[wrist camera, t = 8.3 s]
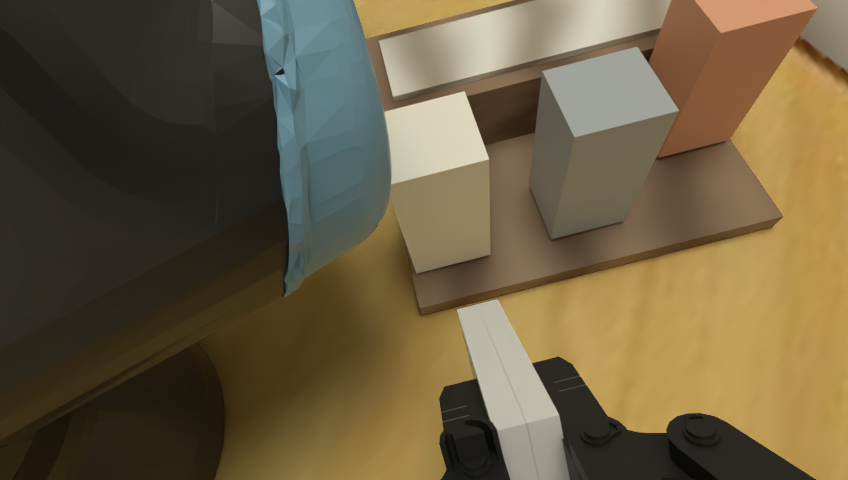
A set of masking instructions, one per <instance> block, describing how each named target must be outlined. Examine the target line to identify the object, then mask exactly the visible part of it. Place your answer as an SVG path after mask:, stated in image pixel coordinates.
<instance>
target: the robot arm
mask: <svg viewBox="0 0 848 480" xmlns="http://www.w3.org/2000/svg"><path fill="white" fill-rule="evenodd" d="M391 179H392V165H391V153H390V144H389V136H388V130H387V124H386V118H385V113H384V109H383V104H382V99H381V94H380V91H379V87H378V83H377V79H376V75H375V71H374V67H373V64H372V60H371V57H370V53H369V50H368V46H367V43H366V39H365V36H364V32H363V29H362V25H361V22H360V19H359V16H358V13H357V10H356V7H355V4H354V1H353V0H0V480H213V478H214V475H215V472H216V468H217V465H218V461H219V457H220V452H221V447H222V441H223V432H224V404H223V396H222V391H221V386H220V383H219V379H218V376H217V374H216V371H215V369H214V367H213V365H212V363H211V361H210V359H209V358H208V356H207V354H206V353H205V352H204V350H203V349H202V348H201V347H200V346H199V344H198V343H197V342H198V341H200V340H202V339H203V338H205V337H207V336H209V335H211V334H213V333H214V332H216V331H218V330H220V329H222V328H223V327H225V326H227V325H229V324H231V323H233V322H234V321H236V320H238V319H240V318H242V317H243V316H245V315H247V314H249V313H251V312H253V311H254V310H256V309H258V308H260V307H262V306H263V305H265V304H267V303H269V302H271V301H273V300H274V299H276V298H278V297H280V296H282V297H284V298H285V297H287V296H289V295H291V294H292V292H293V291H296V290H298V288H299V287H300V286H301V284H302V282H303V279H305V278H306V277H308V276H309V275H311V274H313V273H314V272H316V271H317V270H319V269H320V268H322V267H324V266H325V265H327V264H328V263H330V262H331V261H333V260H334V259H336V258H338V257H339V256H341V255H342V254H344V253H346V252H347V251H349V250H350V249H352V248H354V247H355V246H357V245H358V244H360V243H361V242H363V241H364V240H365V239H366V238H367V237H368V236H369V235H370V234H371V233H372V232H373V230H374V229H375V228H376V227H377V225H378V223H379V221H380V220H381V219H382V217H383V215H384V213H385V211H386V208H387V205H388V201H389V196H390V191H391ZM457 313H458V317H459V321H460V325H461V329H462V333H463V337H464V341H465V345H466V349H467V353H468V357H469V361H470V365H471V369H472V373H473V376H474V380H470V381H466V382H462V383H458V384H454V385H450V386H446V387H444V389H443V391H442V394H441V396H440V398H439V401H440V407H441V414H442V420H443V427H444V431H443V432H442V434H441V435H440V442H439V444H440V447H441V451H442V454H443V458H444V461H445V465H446V468H447V470H446V473H445V474H444V476H443V477H442V479H441V480H816V479H814V478H813V477H811V476H809V475H808V474H806V473H805V472H803V471H802V470H800V469H799V468H797V467H795V466H794V465H792V464H791V463H789V462H788V461H786V460H785V459H783V458H781V457H780V456H778V455H777V454H775V453H774V452H772V451H770V450H769V449H767V448H766V447H764V446H763V445H761V444H760V443H758V442H756V441H755V440H753V439H752V438H750V437H749V436H747V435H746V434H744V433H742V432H741V431H739V430H738V429H736V428H735V427H733V426H731V425H730V424H728V423H727V422H725V421H723V420H721V419H719V418H717V417H714V416H710V415H706V414H701V413H691V414H684V415H681V416H677V417H676V418H674V419H673V420H672V421H670V422H669V425H668V427H667V433H639V432H634V431H629V430H627V429H626V428H625V427H624V426H623V425H622V424H621V423H620V422H619V421H617V420H615V419H613V418H610V417H608V416H607V415H606V413H605V412H604V410H603V409H602V407H601V406H600V404H599V403H598V401H597V400H596V399H595V397H594V396H593V394H592V393H591V391H590V390H589V388H588V387H587V385H585V382H584V381H583V380H582V378H581V377H580V376H579V374H578V372H577V371H576V369H575V368H574V366H573V365H572V364H571V363H569V362H567V361H566V360H564V359H562V358H560V357H556V358H552V359H548V360H544V361H540V362H536V363H531V361H530V359H529V357H528V355H527V354H526V352H525V350H524V348H523V346H522V344H521V342H520V340H519V338H518V337H517V335H516V333H515V331H514V329H513V327H512V325H511V323H510V322H509V320H508V318H507V316H506V314H505V312H504V310H503V308H502V306H501V305H500V303H499V301H498V299H496V300H492V301H488V302H484V303H480V304H477V305H473V306H469V307H465V308H461V309H457Z"/></svg>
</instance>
